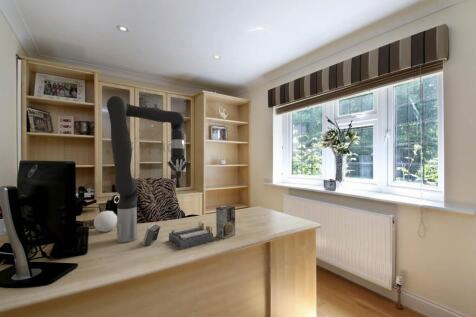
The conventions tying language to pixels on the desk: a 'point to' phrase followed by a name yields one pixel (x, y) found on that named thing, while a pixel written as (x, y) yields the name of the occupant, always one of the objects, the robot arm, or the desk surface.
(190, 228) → the far strap
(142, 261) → the desk surface
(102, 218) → the decorative ball
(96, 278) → the desk surface
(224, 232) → the coffee box
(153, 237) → the grey irregular chunk
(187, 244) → the clamp block
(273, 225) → the desk surface
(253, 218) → the desk surface
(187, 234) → the near strap
